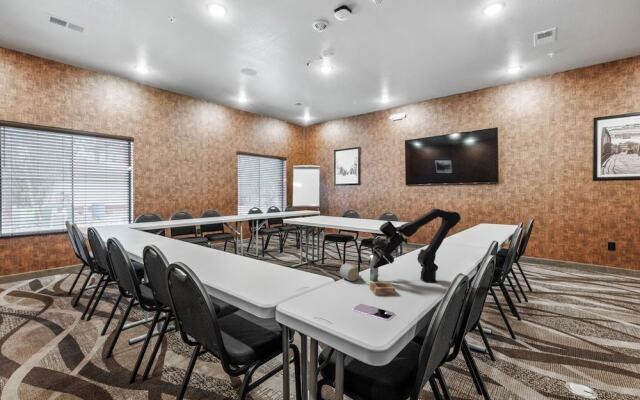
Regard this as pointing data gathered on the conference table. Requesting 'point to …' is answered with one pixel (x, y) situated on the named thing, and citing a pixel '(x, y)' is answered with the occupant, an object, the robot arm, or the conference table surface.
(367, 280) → the coaster
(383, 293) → the wooden peg socket
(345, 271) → the ceramic mug
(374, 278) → the peg
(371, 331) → the conference table surface
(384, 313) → the mobile phone
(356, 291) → the conference table surface
